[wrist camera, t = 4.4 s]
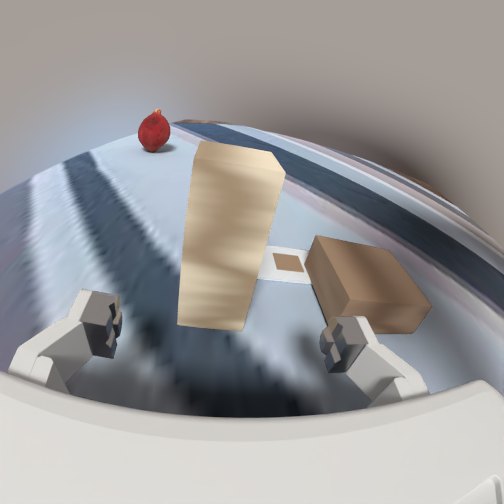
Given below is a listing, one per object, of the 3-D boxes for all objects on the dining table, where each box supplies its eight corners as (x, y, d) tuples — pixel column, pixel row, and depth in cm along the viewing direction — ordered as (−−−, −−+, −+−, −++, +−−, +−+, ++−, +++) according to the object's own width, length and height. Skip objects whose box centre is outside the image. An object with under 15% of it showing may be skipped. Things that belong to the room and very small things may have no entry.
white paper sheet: (306, 252, 28) (307, 250, 27) (321, 285, 23) (322, 282, 23) (223, 241, 26) (224, 238, 26) (224, 275, 22) (224, 272, 22)
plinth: (375, 275, 27) (389, 250, 25) (412, 333, 20) (432, 306, 19) (303, 264, 25) (315, 235, 24) (330, 332, 18) (350, 299, 17)
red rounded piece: (161, 157, 45) (167, 111, 41) (131, 153, 45) (135, 109, 41) (171, 150, 50) (177, 109, 46) (143, 147, 50) (148, 106, 46)
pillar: (238, 289, 21) (271, 152, 16) (242, 331, 17) (285, 172, 12) (183, 283, 20) (200, 140, 15) (177, 324, 17) (194, 157, 12)
